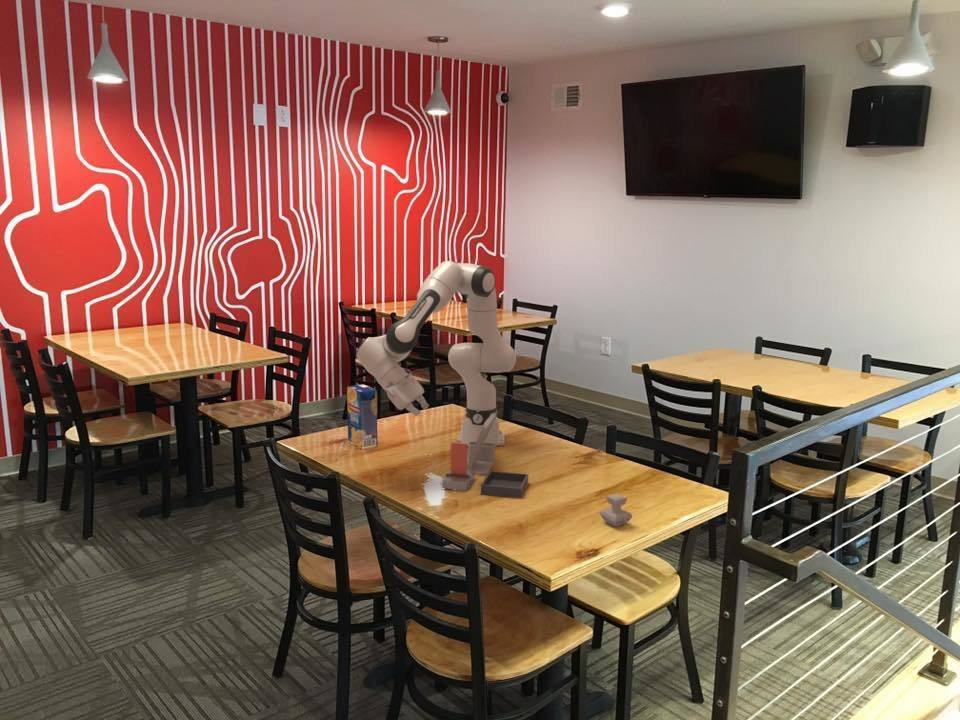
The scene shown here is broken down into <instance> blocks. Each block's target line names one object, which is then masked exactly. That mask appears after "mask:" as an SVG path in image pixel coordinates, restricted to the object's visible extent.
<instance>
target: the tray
mask: <svg viewBox="0 0 960 720" xmlns="http://www.w3.org/2000/svg"><path fill="white" fill-rule="evenodd" d="M528 485H529V473H519V472H507V471H496V470H489V472H488V473H487V475H485V477H484V478H483V481H482V482H481V484H480V495H484V496H494V497H503V498H505V497H506V498H514V499H515V498H516V499H522V497H523V495H524V493H525V490H526V489H527V487H528Z"/></svg>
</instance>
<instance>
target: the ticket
mask: <svg viewBox="0 0 960 720" xmlns="http://www.w3.org/2000/svg"><path fill="white" fill-rule="evenodd" d="M450 445H451V446H450V448H451V450H450V452H451V453H450V454H451V455H450V467H451V468H450V470H451V474H458V475H467V458H468V446H467V443H462V442H459V441H452V442H451V443H450Z"/></svg>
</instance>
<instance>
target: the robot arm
mask: <svg viewBox="0 0 960 720" xmlns="http://www.w3.org/2000/svg"><path fill="white" fill-rule="evenodd" d="M496 281H497V280H496V275H495V272H494V271H493V270H492V269H491V268H489V267H487V266H485V265H478V264H474V263H470V262H469V263H468V262H467V263H465V262H457V261H456V262H455V261H452V260H445V261H442V262H440V263H439V265H437V266H436V267H435V268H434V269H433V270H432V271H431V272H430V274H429V275H428V276H427V277H426V279H425V280H424V281H423V283H422V284H421V286H420V288H419V289H418V291H417V294H416V301H415V303H414V304H413V305H412V307H411V308H410V309H409V311H408V312H407V313H406V314H405V316H404V317H403V318H401V319H400V320H398V321H395V322H393V323H392V324H391V325H390V326H389V327H388V329H387V331H386V334H384V335H380V336H374V337H371V336H368V337H366V338H365V339H364V340H363V341H362V342H361V343H360V345H359V347H358V348H357V350H356V358H357V359H358V361H359V363H360V364H361V365H362V366H363V368H364V369H365V370H366V371H367V373H369V374H370V375H372V376H373V377H374V378H375V380H376V382H377V383H378V385H380V386H381V387H382V389H383V390H384V391H385V392H386V396H387V397H388V399H389V400H390V401H391V403H393V405H394V406H395V408H396V409H398V410H399V411H402V410H404V409H406V411H408V412H409V413H411V414H413V416H414V417H418V416H419V415H420V414H421V411H420V410H419V409H418V408H416V407H415V406H414V404H413V402H415V401H416V402H418V403H419V404H420V406H421V408H422V410H424V411H425V410H427V409H428V408H429V406H430V404H429V403H427V401H426V399H425V397H424V396H423V394H424V393H425V390H424V387H423V386H422V385H421V383H419V382H420V381H418V380H417V379H416V378H415V377H414V376H413V374H412V372H411V370H410V369H408V368H403V367H401V366H400V365H399V362H401V361H403V360H404V359H406V358H407V357H408V356H409V354H410V353H411V351H413V349H414V348H415V347H416V345H417V343H418V342H419V341H418V340H419V335H420V330H421V329H422V327H423V325H425V322H427V320H428V319H429V317H430V316H431V315H432V314H433V313H438V312H441V310H443V309H444V308H445V307H446V306H447V305H448V304H449V303H450V301H451V300H452V298H453V297H454V295H456V293H459V294H462V295H467V303H466V304H467V305H466V309H467V310H466V311H467V312H466V316H467V317H466V318H467V320H466V321H467V323H466V324H467V329H468V330H469V331H470V332H471V333H472V334H474V335H475V336H477V337H479V338H480V339H481V340H482V343H481V342H461V343H455V344H453V345H452V346H451V347H450V348H449V352H448V354H447V358H448V363H449V365H450V367H451V368H452V369H453V370H454V371H456V372H457V373H458V375H460V377H461V379H462V380H463V382H464V384H465V389H466V406H465V411H464V412H465V418H463V419H462V421H461V426H460V427H461V429H460V430H461V432H460V435H459V436H458V437H457V439H456V442H461V443H467V447H468V443H470V442H477V440H478V437H479V435H480V432H481V430H482V427H483V425H484V423H485V422H486V420H487V419H488V418H489V417H490V415H491V414H492V413H494V414H497V416H496V418H495V421H494V423H493V425H492V427H491V429H490V431H489V433H488V435H487V437H486V439H485V441H484V443H493V444H495V447H496V446H497V447H498V446H504V445H505V444H506V439H505V438H506V436H505V435H506V434H505V431H503V430H500V420H499V418H498V409H497V397H496V396H497V390H496V387H495V385H494V384H493V383H492V382H490V381H488V380H487V379H485V378H484V377H483V376H482V374H481V373H492V374H493V373H495V374H500V373H506V372H511V371H512V370H513V369H514V367H515V365H516V362H517V355H516V351H515V350H514V348H513V347H512V346H511V345H510V344H508V343H507V342H506V341H505V340H504V339H503V336H502V335H501V333H500V330H499V324H498V302H497V300H498V299H497V293H496V287H495V286H496Z"/></svg>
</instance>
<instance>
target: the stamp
mask: <svg viewBox="0 0 960 720" xmlns="http://www.w3.org/2000/svg"><path fill="white" fill-rule="evenodd" d="M605 500H606V501H607V503H608V504H609V505H611V507H609V508H605V509H601V510H600V512H599V515H600V516H601V518H602V520H603V521H604V522H605V523H607V524H609V525H611V526H613V527H619V526H622V525H626V524H628V522H630V520H631V519H632V518H633V514H632V513H631V512H630V511H627V510H626V509H624V508H621V507H622V506H624V505H626V503H627V501H628V500H627V497H626V496H624V495H621V494H619V493H614V494H610V495H607V496H606V498H605Z"/></svg>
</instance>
